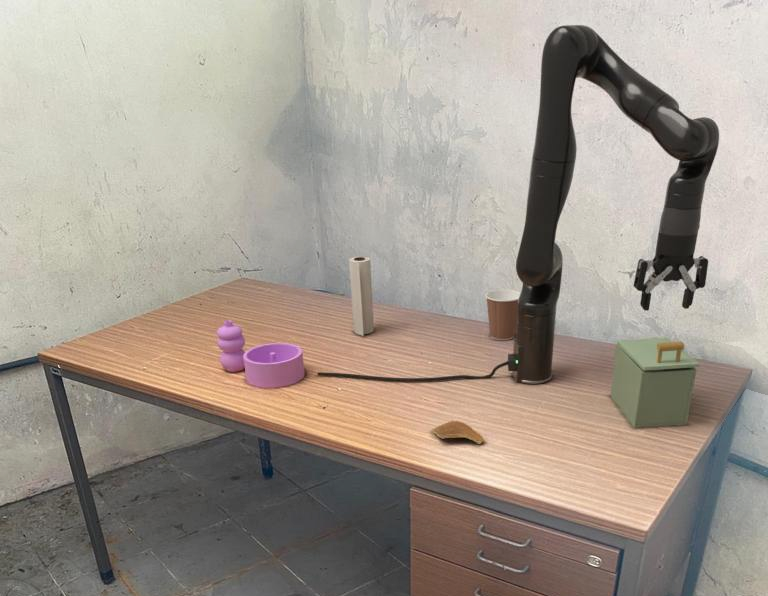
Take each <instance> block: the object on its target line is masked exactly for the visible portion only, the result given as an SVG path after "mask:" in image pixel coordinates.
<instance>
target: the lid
mask: <svg viewBox="0 0 768 596" xmlns="http://www.w3.org/2000/svg"><path fill="white" fill-rule="evenodd" d="M617 344H618V345H619V346H620V347H621V348H622V349H623V350H624V351H625V352H626V353H627V354H628V355H629V356H630V357H631V358H632V359H633V360H634V361H635V362H636V363H637V364H638V365H639V366H640V367H641V368H642V369H643V370H644V371H645V370H661V369H677V368H692V367H694V368H699V367H700V363H699V362H698V361H697V360H696V359H695V358H694V357H692V356H691V355H689V354H688V353H687V352H686V351H684V348H685V344H684V341H672V340H671V339H670V338H669V337H667V336H666V337H651V338H637V339H635V338H634V339H633V338H632V339H618V340H616V345H617Z"/></svg>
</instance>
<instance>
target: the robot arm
mask: <svg viewBox="0 0 768 596" xmlns="http://www.w3.org/2000/svg"><path fill="white" fill-rule="evenodd" d="M540 64H541V65H540V87H539V103H538V104H539V105H538V112H537V113H538V114H537V119H536V120H537V122H536V129H535V139H534V146H533V151H532V157H531V164H530V173H529V181H528V182H529V183H528V191H527V199H526V209H525V211H526V212H525V219H524V220H525V221H524V227H523V230H522V235H521V240H520V244H519V247H518V253H517V256H516V261H515V270H516V275H517V277H518V278H519V280H520V282H521V283H522V287H521V291H520V292H521V294H520V296H519V299H518V307H517V328H516V333H515V337H514V338H513V351H512V353H507V361H504V362H502V363H500V364H497V365H496V366H494V367H493V368H492V371H491V372H490V373H489V374H486V375H481V376H480V375H479V376H478V375H468V374H460V375H459V374H458V375H447V376H435V377H389V376H375V375H367V374H366V375H364V374H354V373H344V372H343V373H341V372H323V371H318V372H317V373H316V374H317V376H323V377H324V376H325V377H342V378H356V379H365V380H376V381H389V382H390V381H391V382H435V381H447V380H459V379H466V380H468V379H469V380H487V379H490V378H492V377H493V376H494V375H495V373H496V372H497V370H499V369H501V368H504V367H506V366H507V371H508V372H512V377H513V378H514V380H515V382H516V383H518V384H519V383H522V384H528V385H538V384H539V385H540V384H544V383H548V382H550V381H551V380H552V378H553V377H552V376H553V374H552V372H553V369H552V368H553V359H554V358H553V356H554V345H555V344H554V343H555V332H556V318H557V306H558V302H559V298H560V294H561V286H562V285H561V284H562V276H563V267H564V266H563V263H564V262H563V261H564V260H563V258H564V257H563V253H562V252H563V251H562V250H561V248H560V246H559V245H558V244H557V242H556V236H557V235H556V234H557V229H558V225H559V221H560V218H561V215H562V212H563V210H564V208H565V205H566V202H567V199H568V196H569V192H570V190H571V187H572V182H573V177H574V172H575V166H576V160H577V150H578V149H577V147H578V146H577V139H576V132H575V127H574V122H573V117H572V105H573V104H572V103H573V97H574V96H573V95H574V90H575V85H576V80H577V79H578V78H581V79H583V80H586V81H588V82H590V83H591V84H593V85H595V86H597V87H599V88H600V89H601V90H603V91H604V92H605V93H606V94H607V95H608V96H609V97H610V98H611V100H612V101H613V102H614V104H615V105H616V106H617V108H618V109H619V111H621V113H622V114H623V115H625V117H627V118H628V119H629V120H630V121H632V122H633V123H634V124H635V125H636V126H638V127H640V128H641V129H643V130H644V131H645V132H647V133H648V134H650V135H651V137H652V138H653V139H654V140H655V142H656V143H657V144H658V145H659V146H660V147H661V149H663V151H664V152H665V153H666V154H667V155H668V156H670V157H672V158H673V159H675V160H677V161H678V165H677V168H676V170H675V172H674V173H673V174H672V175H671V176H670V177H669V179H668V182H667V186H666V191H665V197H664V203H663V208H662V212H661V215H660V220H659V226H658V233H657V240H656V245H655V246H656V247H655V253H654V257H653V259H652V260H650V259H649V260H647V259H643V258H640V259H638V262H637V266H636V271H635V276H634V282H633V287H634V288H635V289H636V290H637V291H638V292H641V295H640V296H641V297H640V302H639V304H640V305H639V306H640V307H641V308H642V309H643V310H644V312H645V311H646V312H647V311H649V310H650V306H651V300H652V299H651V298H652V291H653V290H654V289H655V287H657V286H658V285H660V284H661V282H662V281H663V282H670V281H674V282H679V281H680V280H681V281H682V282H683V284H684V286H685V287H686V288H684V290H683V297H682V302H681V307H682V308H683V309H684V310H686V309H687V310H688V309H689V308H690V307H691V306H692V305H693V302H694V296H695V292H696V291H697V290H698V289H703V288H705V286H706V282H707V275H708V266H709V259H707V258H706V257H705V256H703V255H700V256H699V257H696V258H695V257H694V254H695V251H696V247H697V246H696V245H697V240H698V235H699V230H700V227H701V224H700V223H701V218H702V217H701V216H702V206H703V200H704V195H705V188H706V182H707V180H708V177H709V175H710V172H711V170H712V167H713V164H714V161H715V158H716V155H717V152H718V148H719V144H720V129H719V126H718V124H717V122H716V121H715V120H714V119H713V118H711V117H705V116H702V117H696V118H690V117H688V116H687V115H685V114H684V113H683V112H682V111H681V110H680V104H679V102H678V101H677V100H676V99H675V98H674V97H673V96H672V95H670V94H669V93H667V92H666V91H664V90H663V89H662V88H660V86H658V85H656V84H654V83H653V82H652V81H650V80H649V79H647V77H644V75H642V74H640V73H639V72H638V71H637V70H635V69H634V68H633V67H631V66H630V65H629V64H628V63H627V62H625V61H624V60H623V59H622V58H621V57H620V55H618V54H617V53H616V52H615V51H614V49H612V48H611V47H610V46H609V44H608V43H607V42H606V41H605V40H604V39H603V38H602V36H600V35H599V34H598V33H597V32H596V31H595V30H594V29H593V28H592V27H590V26H588V25H584V24H570V25H569V24H568V25H567V24H566V25H560V26H557V27H556V28H554V29H553V30H552V31H551V32H550V33H549V34H548V36H547V37H546V40H545V42H544V44H543V49H542V54H541V62H540ZM651 267H652V269H653V272H652V273H650V275H649V276H648V278H647V280H646V276H647V272H648V271H649V270H650V269H651ZM693 267H694V268H695V269H696V272H695V280H694V281H693V278H692V277H691V275H690V273H689V272H690V271H691V269H692V268H693ZM645 280H646V281H645Z"/></svg>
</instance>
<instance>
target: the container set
mask: <svg viewBox="0 0 768 596" xmlns="http://www.w3.org/2000/svg"><path fill="white" fill-rule="evenodd" d="M216 335H217V337H218V339H217V340H216V341H217V343H216V344H217V347H218V348H219V349H220V350H221V351H222V352H221V354H220V356H219V362H220V366H221V367H222V368H223V369H225V370H226V371H227V372H228V373H229V372H230V373H236V372H242V371H243V370H244V372H245V379H246V382H247V383H248V384H249V385H250V386H253V387H256V388H263V389H277V388H284V387H287V386H291V385H294V384H296V383H298V382H300V381H301V380H302V379H304V378H305V374H306V373H305V366H304V365H305V363H304V356H303V349H302V348H301V346H298V345H296V344H293V343H286V342H273V343H265V344H260V345H256V346H253V347H251V348H249V349H247V350H246V351H245V350H244V349H243V348H244V346H245V344H246V339H245V336H243V328H242V327H241V326H239V325H237V324H234V323H233V320H232V319H226V320H224V321H223V325H222V326H220V327H219V328H218V329H217V331H216Z"/></svg>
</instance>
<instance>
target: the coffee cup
mask: <svg viewBox="0 0 768 596" xmlns="http://www.w3.org/2000/svg"><path fill="white" fill-rule="evenodd" d="M520 294H521V291H518V290H514V289H495V290H491V291H489V292H487V293H486V294H485V298H486V307H487V318H488V328H489V329H488V330H489V334H490V338H491V339H492V340H493V339H494V340H496V341H508V340H512V339H514V338H516V329H517V307H518V299H519V296H520Z"/></svg>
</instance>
